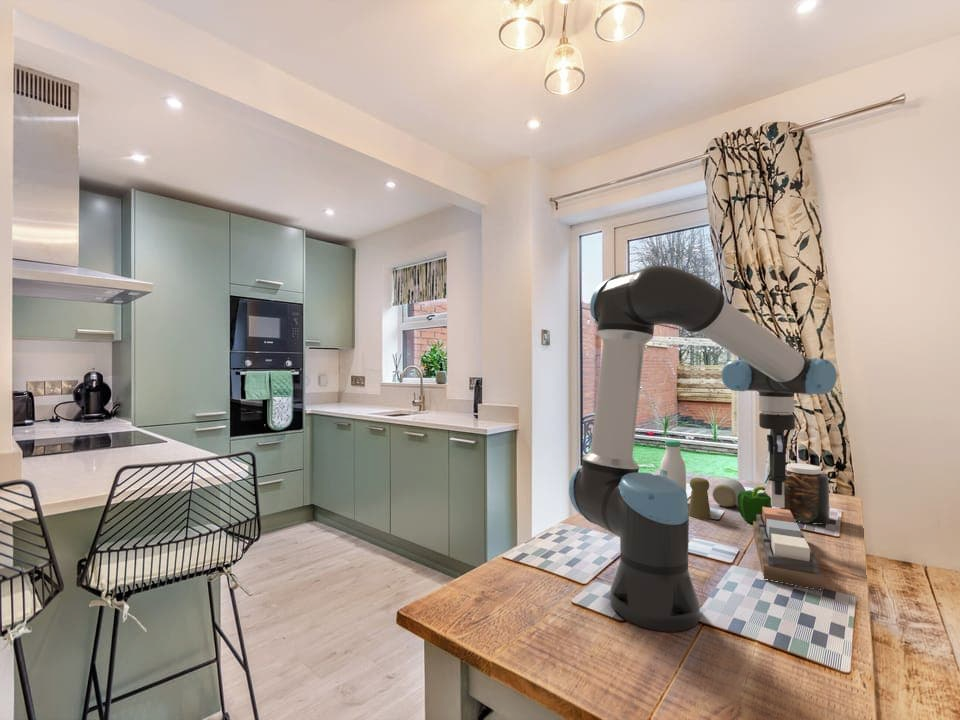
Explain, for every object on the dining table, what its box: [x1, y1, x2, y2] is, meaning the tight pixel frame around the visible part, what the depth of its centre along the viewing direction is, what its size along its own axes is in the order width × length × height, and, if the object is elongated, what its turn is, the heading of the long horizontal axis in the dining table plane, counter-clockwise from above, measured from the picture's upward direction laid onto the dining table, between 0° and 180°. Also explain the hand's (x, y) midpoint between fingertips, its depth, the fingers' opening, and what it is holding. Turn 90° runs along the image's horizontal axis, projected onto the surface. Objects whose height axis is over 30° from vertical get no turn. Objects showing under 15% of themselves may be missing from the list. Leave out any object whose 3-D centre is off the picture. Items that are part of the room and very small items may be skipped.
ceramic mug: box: [712, 478, 747, 508], centre depth 142 cm, size 11×8×8 cm
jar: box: [779, 462, 830, 524], centre depth 131 cm, size 12×12×15 cm
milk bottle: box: [659, 439, 687, 493], centre depth 146 cm, size 8×8×20 cm
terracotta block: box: [762, 507, 794, 524], centre depth 114 cm, size 6×6×3 cm
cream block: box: [771, 533, 811, 561], centre depth 95 cm, size 6×6×3 cm
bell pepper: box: [737, 486, 773, 524], centre depth 128 cm, size 8×8×10 cm
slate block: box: [766, 519, 802, 539], centre depth 104 cm, size 6×6×3 cm
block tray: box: [752, 514, 825, 591], centre depth 104 cm, size 30×10×5 cm, turn 153°
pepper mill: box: [688, 477, 712, 520], centre depth 133 cm, size 6×6×11 cm
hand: (777, 506), depth 114 cm, fingers closed
